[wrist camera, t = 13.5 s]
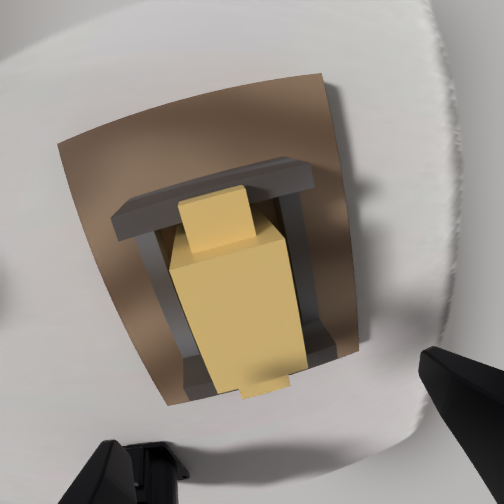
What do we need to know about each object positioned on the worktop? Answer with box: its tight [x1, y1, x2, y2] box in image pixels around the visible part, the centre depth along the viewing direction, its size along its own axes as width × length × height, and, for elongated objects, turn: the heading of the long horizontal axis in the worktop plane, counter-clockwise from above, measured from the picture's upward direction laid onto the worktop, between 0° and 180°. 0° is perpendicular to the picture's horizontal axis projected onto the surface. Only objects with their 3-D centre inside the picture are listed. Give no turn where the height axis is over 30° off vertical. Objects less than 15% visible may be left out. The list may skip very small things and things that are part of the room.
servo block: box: [169, 185, 308, 399], centre depth 15 cm, size 10×4×6 cm, turn 13°
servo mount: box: [57, 73, 359, 406], centre depth 16 cm, size 18×14×6 cm
